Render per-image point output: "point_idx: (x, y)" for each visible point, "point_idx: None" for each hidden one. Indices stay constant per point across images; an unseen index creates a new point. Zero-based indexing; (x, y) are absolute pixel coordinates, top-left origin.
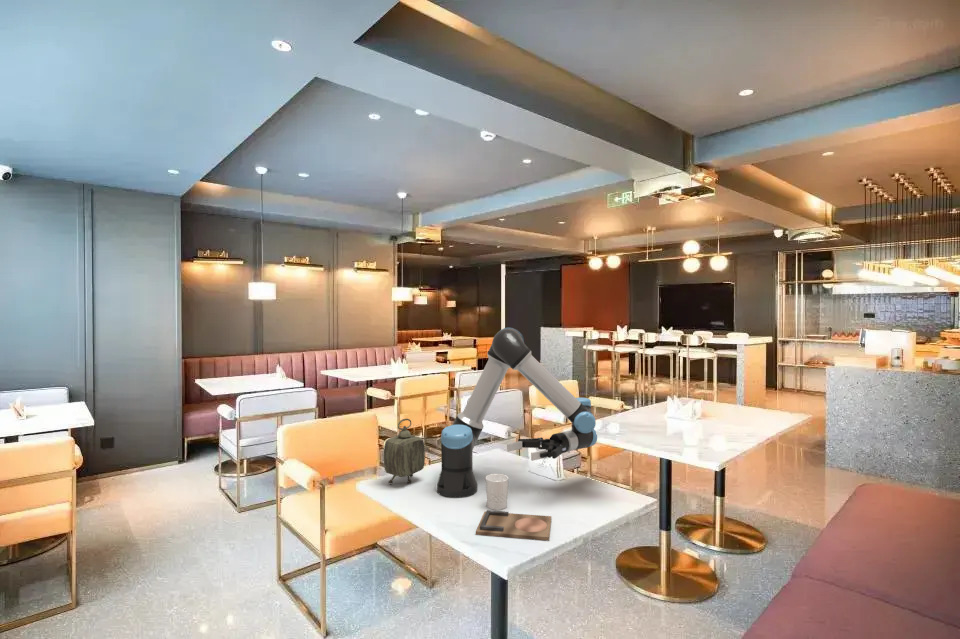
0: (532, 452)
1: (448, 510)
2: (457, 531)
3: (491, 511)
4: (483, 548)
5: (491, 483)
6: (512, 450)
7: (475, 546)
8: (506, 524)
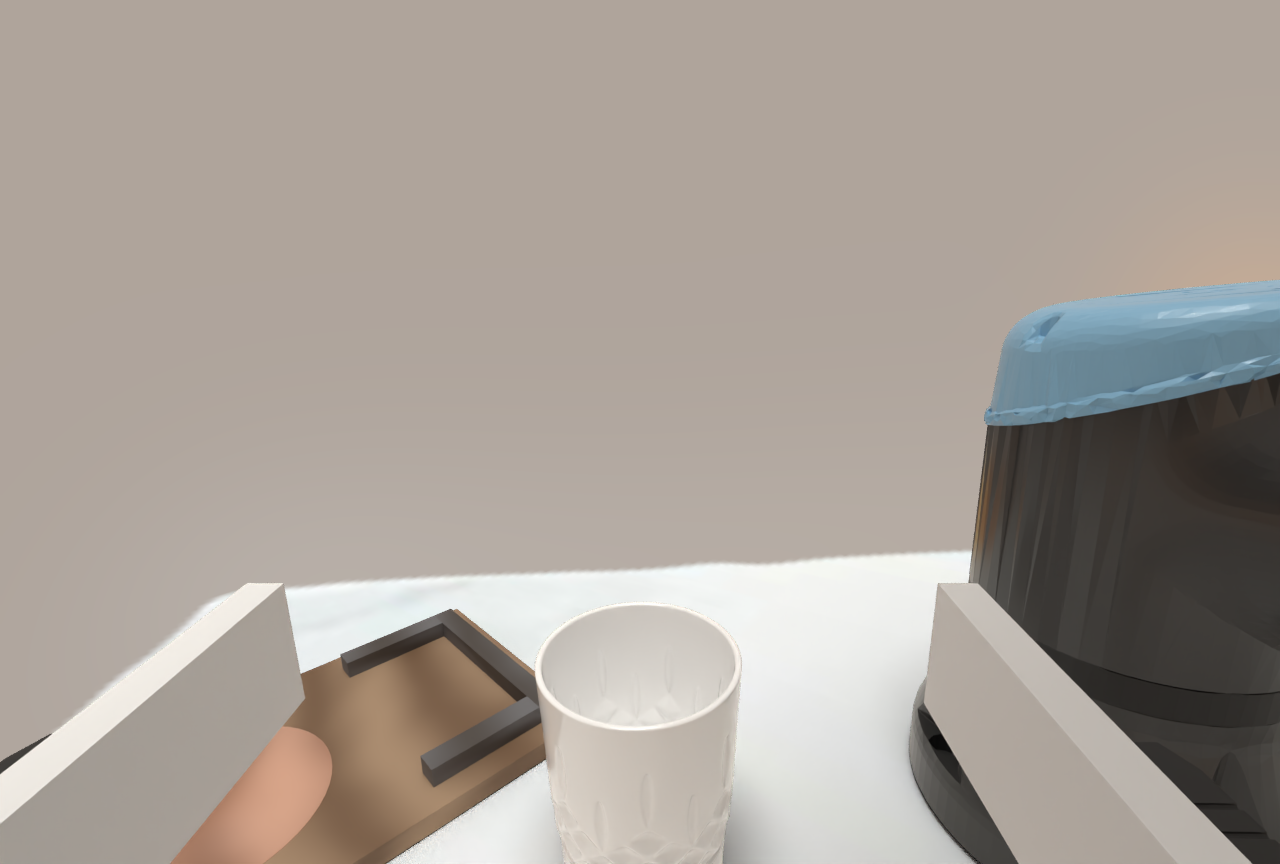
0: (256, 594)
1: (748, 641)
2: (537, 597)
3: (523, 704)
4: (362, 600)
5: (603, 623)
6: (965, 771)
7: (398, 592)
8: (368, 712)
